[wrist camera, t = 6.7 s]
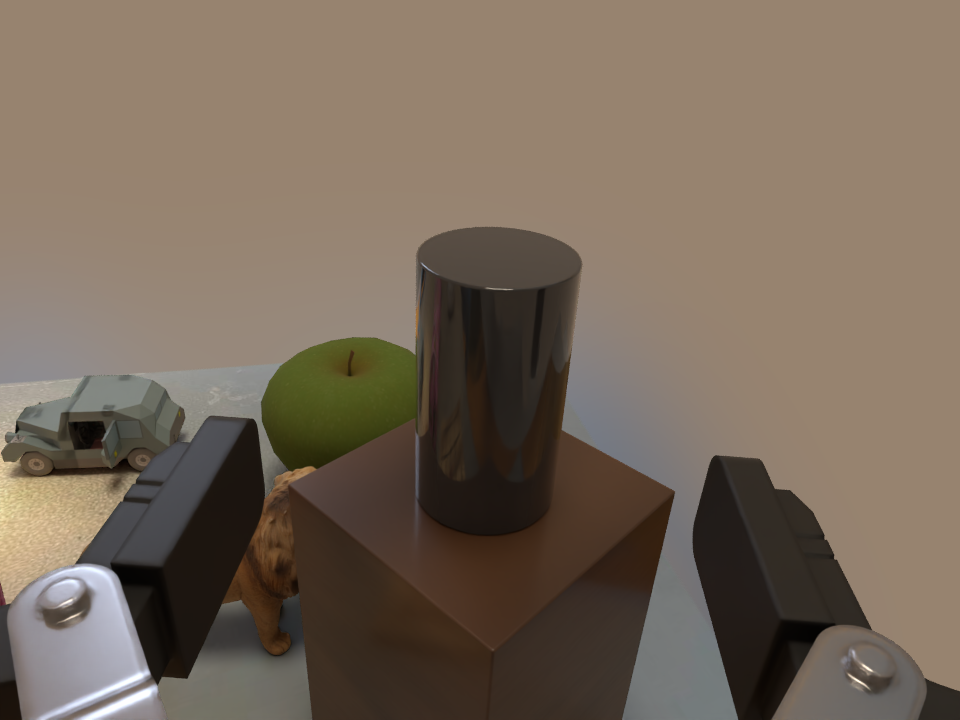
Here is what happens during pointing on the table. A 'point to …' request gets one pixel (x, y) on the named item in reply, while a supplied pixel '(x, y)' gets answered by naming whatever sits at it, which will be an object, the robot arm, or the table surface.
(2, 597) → the pencil case
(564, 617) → the walnut plinth
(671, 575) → the table surface
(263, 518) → the lion figurine
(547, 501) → the glossy dark cylinder
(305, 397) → the apple
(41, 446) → the toy car
